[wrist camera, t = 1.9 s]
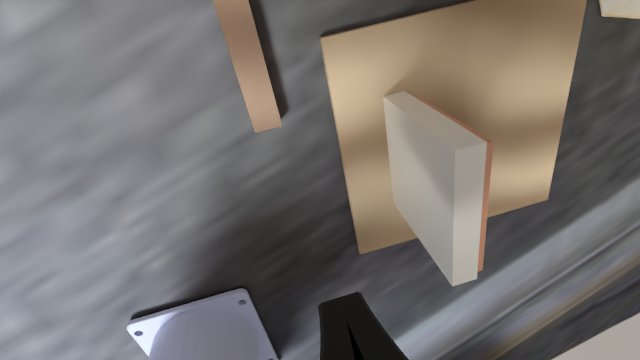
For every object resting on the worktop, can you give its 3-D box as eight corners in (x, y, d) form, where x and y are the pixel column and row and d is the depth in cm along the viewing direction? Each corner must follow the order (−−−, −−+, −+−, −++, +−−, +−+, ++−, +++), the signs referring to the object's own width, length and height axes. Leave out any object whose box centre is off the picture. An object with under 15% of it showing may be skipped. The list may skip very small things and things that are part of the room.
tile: (417, 196, 21) (485, 276, 15) (393, 203, 21) (452, 286, 15) (411, 89, 18) (497, 139, 12) (382, 96, 18) (455, 150, 12)
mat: (543, 196, 24) (547, 199, 24) (358, 250, 23) (359, 254, 23) (585, -28, 17) (592, -28, 17) (319, 37, 16) (321, 38, 16)
